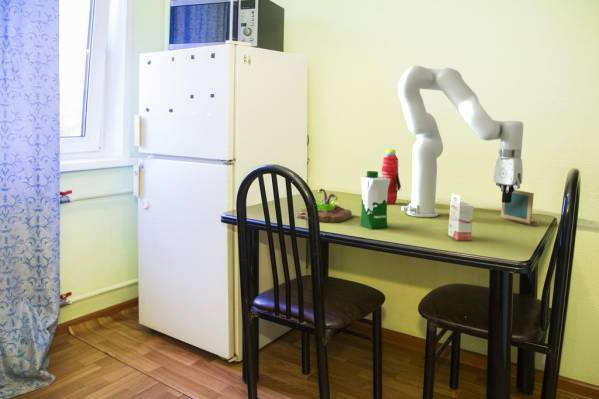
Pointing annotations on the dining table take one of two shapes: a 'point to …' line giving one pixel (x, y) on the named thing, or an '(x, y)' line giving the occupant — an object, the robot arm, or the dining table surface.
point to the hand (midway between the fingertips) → (506, 202)
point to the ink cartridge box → (460, 219)
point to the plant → (329, 210)
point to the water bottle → (391, 175)
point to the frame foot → (533, 222)
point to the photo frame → (519, 207)
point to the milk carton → (374, 200)
